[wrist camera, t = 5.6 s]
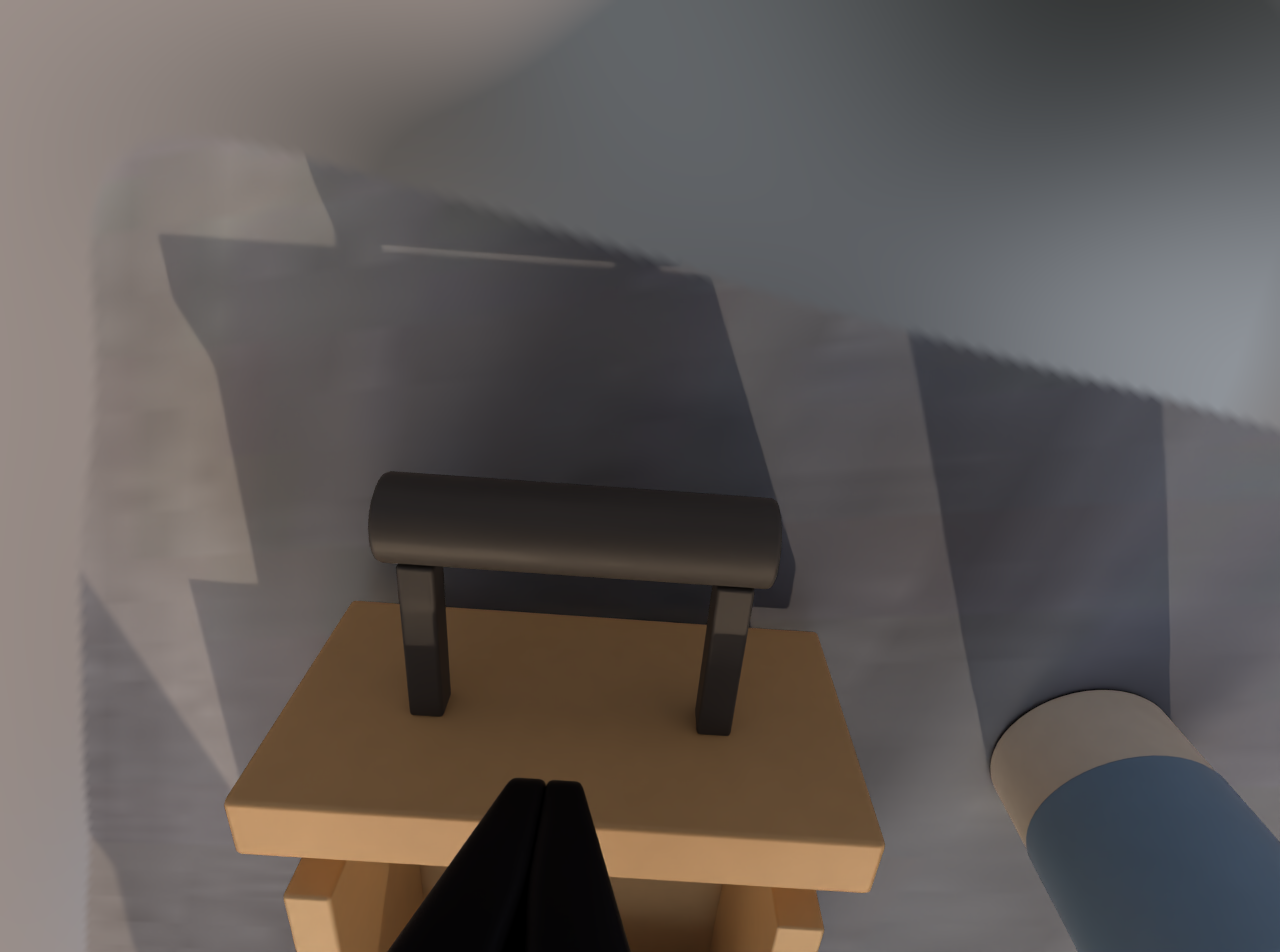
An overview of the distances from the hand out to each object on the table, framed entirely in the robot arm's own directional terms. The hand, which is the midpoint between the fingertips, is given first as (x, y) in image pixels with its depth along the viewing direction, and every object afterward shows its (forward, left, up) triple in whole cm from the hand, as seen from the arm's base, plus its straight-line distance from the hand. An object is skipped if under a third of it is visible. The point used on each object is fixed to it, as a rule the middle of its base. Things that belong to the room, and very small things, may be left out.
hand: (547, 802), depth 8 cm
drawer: (-7, 0, -6) cm, 9 cm away
